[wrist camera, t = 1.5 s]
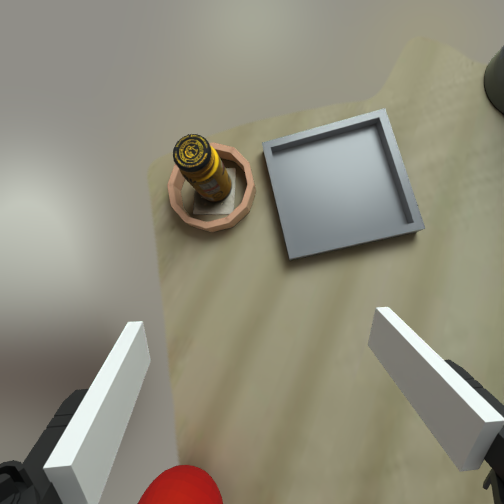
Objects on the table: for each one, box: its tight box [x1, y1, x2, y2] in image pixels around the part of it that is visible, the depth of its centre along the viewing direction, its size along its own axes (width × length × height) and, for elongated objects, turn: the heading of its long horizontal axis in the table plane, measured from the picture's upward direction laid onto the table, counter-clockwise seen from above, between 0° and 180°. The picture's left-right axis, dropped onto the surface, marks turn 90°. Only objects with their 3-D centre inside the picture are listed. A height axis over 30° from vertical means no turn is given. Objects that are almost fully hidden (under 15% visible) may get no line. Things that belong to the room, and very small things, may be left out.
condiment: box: [173, 134, 236, 214], centre depth 38 cm, size 7×8×12 cm
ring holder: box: [168, 143, 256, 232], centre depth 43 cm, size 14×14×3 cm
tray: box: [262, 108, 425, 260], centre depth 40 cm, size 20×20×2 cm
